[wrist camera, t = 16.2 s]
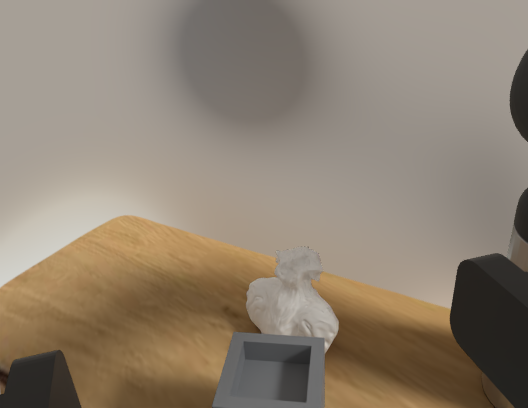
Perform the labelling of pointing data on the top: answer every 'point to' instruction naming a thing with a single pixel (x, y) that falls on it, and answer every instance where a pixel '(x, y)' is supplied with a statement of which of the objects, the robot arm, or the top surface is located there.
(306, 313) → the bust
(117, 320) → the top surface
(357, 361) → the top surface
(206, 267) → the top surface
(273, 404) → the upper socket stand
